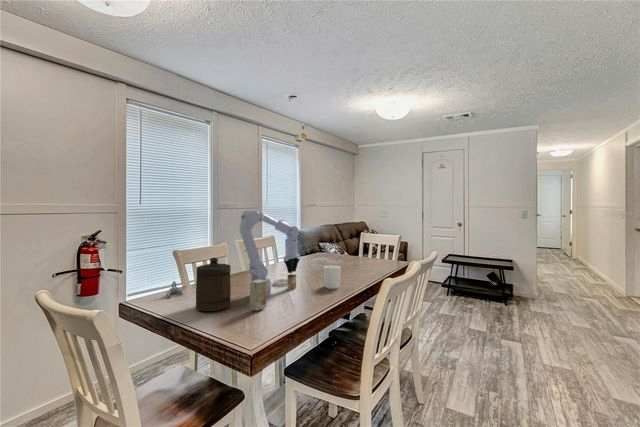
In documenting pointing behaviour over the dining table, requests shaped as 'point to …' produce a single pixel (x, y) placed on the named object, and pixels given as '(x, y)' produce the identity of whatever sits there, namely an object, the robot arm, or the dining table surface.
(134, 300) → the dining table surface
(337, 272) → the candle holder
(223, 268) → the wooden container
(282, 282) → the jar dish
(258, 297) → the skincare box
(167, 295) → the house of cards
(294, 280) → the brown rectangular block
